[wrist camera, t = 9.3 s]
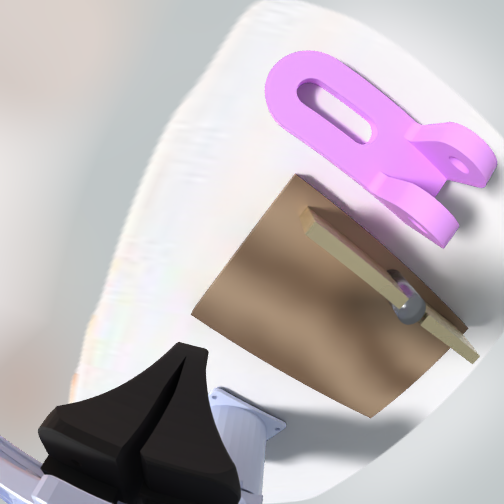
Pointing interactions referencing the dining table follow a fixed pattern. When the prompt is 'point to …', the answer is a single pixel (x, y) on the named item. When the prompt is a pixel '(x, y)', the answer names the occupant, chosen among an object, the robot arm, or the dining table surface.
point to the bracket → (381, 142)
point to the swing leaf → (447, 333)
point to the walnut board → (321, 308)
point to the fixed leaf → (365, 267)
